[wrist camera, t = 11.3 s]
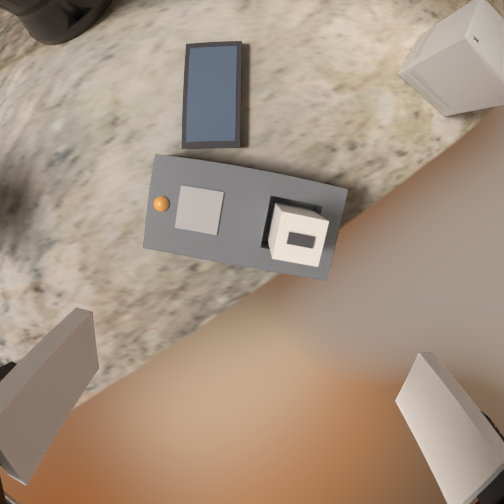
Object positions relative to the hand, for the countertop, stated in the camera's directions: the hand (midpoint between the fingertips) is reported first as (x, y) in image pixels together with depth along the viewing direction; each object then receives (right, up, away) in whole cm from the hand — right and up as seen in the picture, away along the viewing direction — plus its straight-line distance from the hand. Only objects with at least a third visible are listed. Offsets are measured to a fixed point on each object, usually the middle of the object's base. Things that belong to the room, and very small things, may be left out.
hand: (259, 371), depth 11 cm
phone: (-5, +22, +20) cm, 30 cm away
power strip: (-1, +9, +24) cm, 25 cm away
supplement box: (+24, +28, +19) cm, 41 cm away
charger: (+4, +8, +23) cm, 24 cm away
